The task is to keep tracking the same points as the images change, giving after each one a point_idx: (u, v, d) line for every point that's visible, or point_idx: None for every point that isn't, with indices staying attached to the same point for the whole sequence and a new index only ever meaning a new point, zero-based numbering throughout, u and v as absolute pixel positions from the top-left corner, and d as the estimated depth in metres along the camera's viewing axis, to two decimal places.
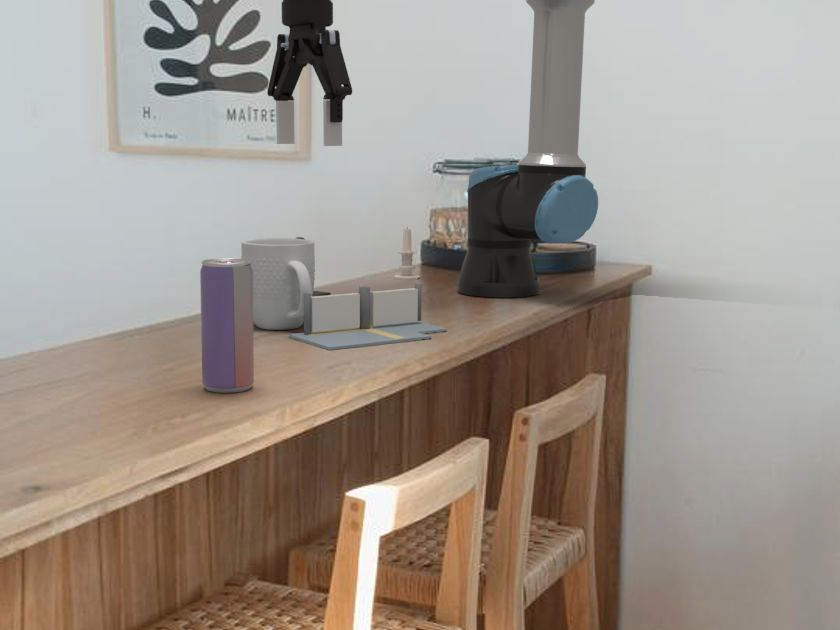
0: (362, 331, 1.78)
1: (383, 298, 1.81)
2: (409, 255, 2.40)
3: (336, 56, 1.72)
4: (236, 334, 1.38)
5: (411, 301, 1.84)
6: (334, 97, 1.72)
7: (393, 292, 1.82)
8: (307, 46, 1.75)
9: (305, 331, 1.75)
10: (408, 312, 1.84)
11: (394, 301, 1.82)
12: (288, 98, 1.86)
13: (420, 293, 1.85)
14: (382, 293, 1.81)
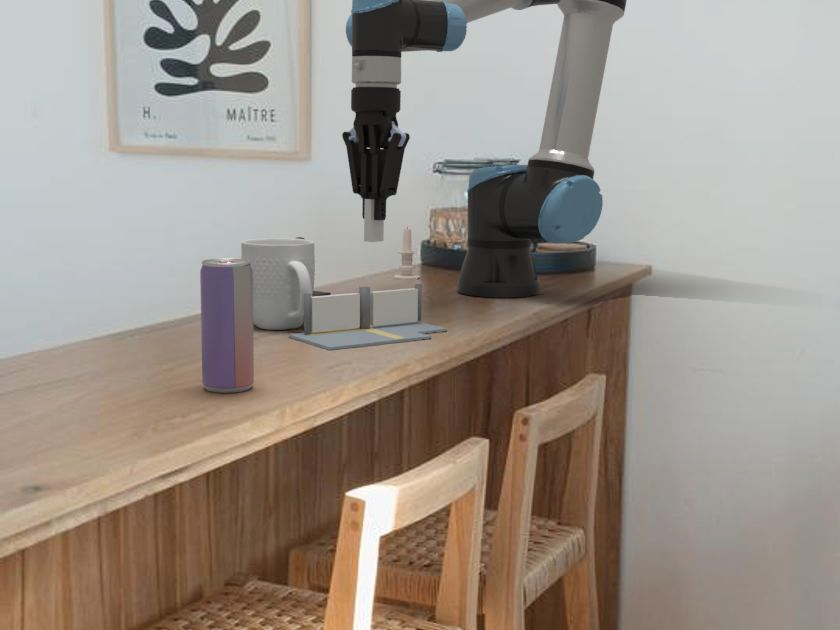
0: (362, 331, 1.78)
1: (383, 298, 1.81)
2: (409, 255, 2.40)
3: (397, 160, 1.82)
4: (236, 334, 1.38)
5: (411, 301, 1.84)
6: (378, 199, 1.84)
7: (393, 292, 1.82)
8: (375, 137, 1.82)
9: (305, 331, 1.75)
10: (408, 312, 1.84)
11: (394, 301, 1.82)
12: None
13: (420, 293, 1.85)
14: (382, 293, 1.81)
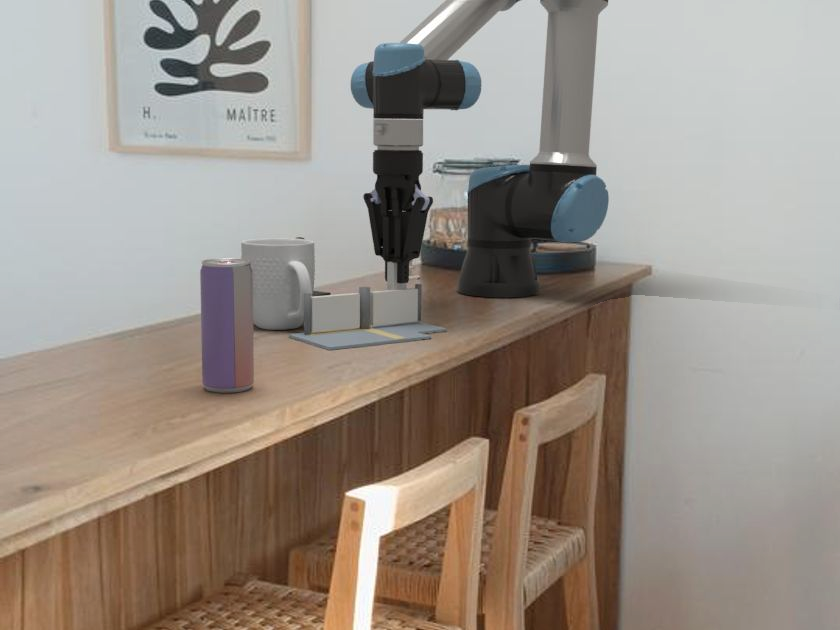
0: (362, 331, 1.78)
1: (383, 298, 1.81)
2: None
3: (420, 223, 1.80)
4: (236, 334, 1.38)
5: (411, 301, 1.84)
6: (401, 262, 1.82)
7: (393, 292, 1.82)
8: (398, 200, 1.80)
9: (305, 331, 1.75)
10: (408, 312, 1.84)
11: (394, 301, 1.82)
12: None
13: (420, 293, 1.85)
14: (382, 293, 1.81)
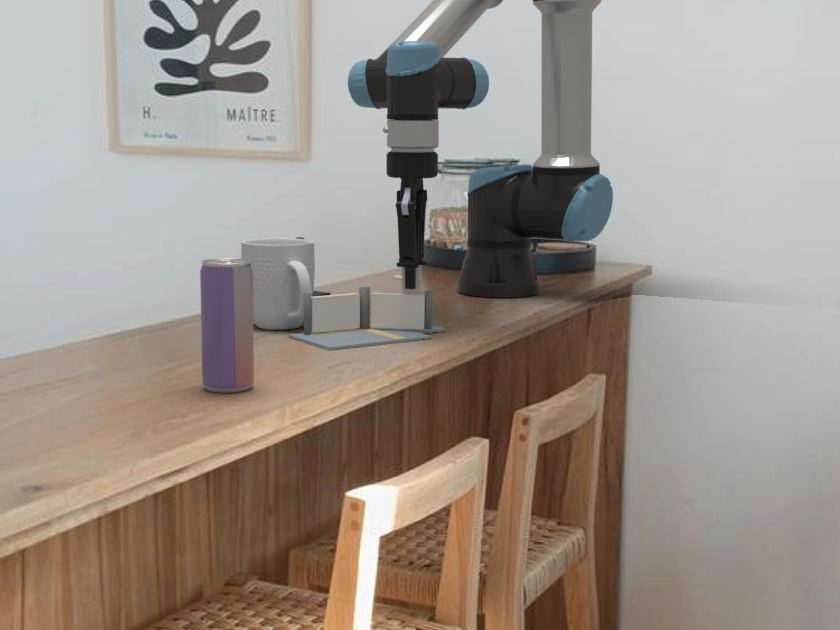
0: (362, 331, 1.78)
1: (383, 300, 1.79)
2: None
3: (406, 228, 1.73)
4: (236, 334, 1.38)
5: (416, 307, 1.78)
6: (405, 267, 1.77)
7: (394, 296, 1.78)
8: None
9: (305, 331, 1.75)
10: (413, 318, 1.78)
11: (396, 305, 1.78)
12: None
13: (428, 300, 1.77)
14: (381, 295, 1.79)
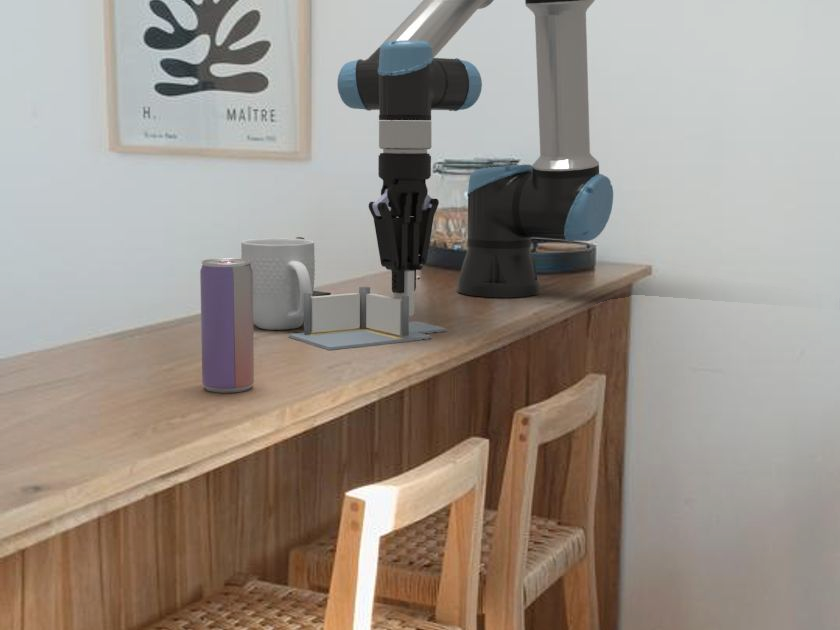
0: (362, 331, 1.78)
1: (373, 301, 1.77)
2: None
3: (381, 230, 1.70)
4: (236, 334, 1.38)
5: (394, 312, 1.73)
6: None
7: (380, 298, 1.76)
8: None
9: (305, 331, 1.75)
10: (392, 322, 1.74)
11: (381, 308, 1.76)
12: (411, 265, 1.75)
13: (403, 305, 1.72)
14: (372, 296, 1.77)
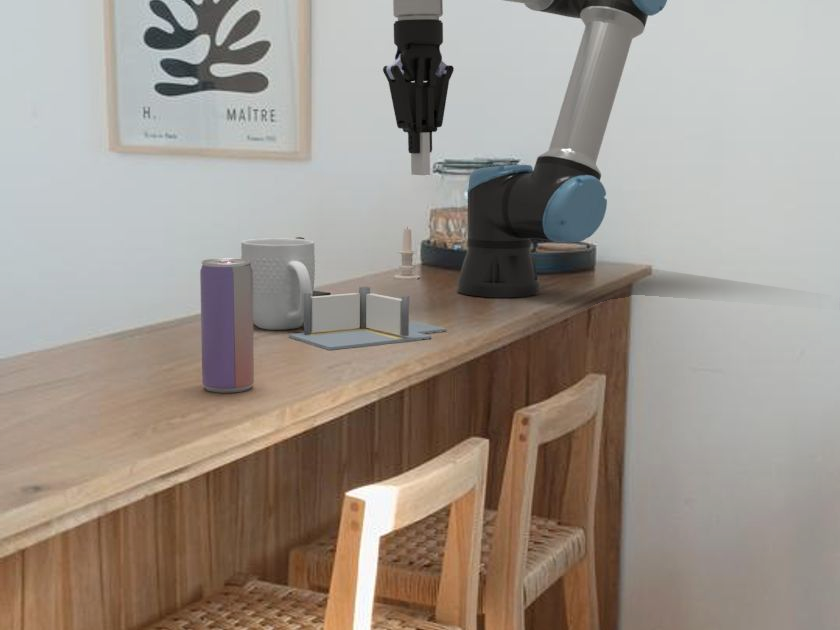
0: (362, 331, 1.78)
1: (373, 301, 1.77)
2: (409, 255, 2.40)
3: (396, 92, 1.83)
4: (236, 334, 1.38)
5: (394, 312, 1.73)
6: None
7: (380, 298, 1.76)
8: None
9: (305, 331, 1.75)
10: (392, 322, 1.74)
11: (381, 308, 1.76)
12: (426, 127, 1.87)
13: (403, 305, 1.72)
14: (372, 296, 1.77)
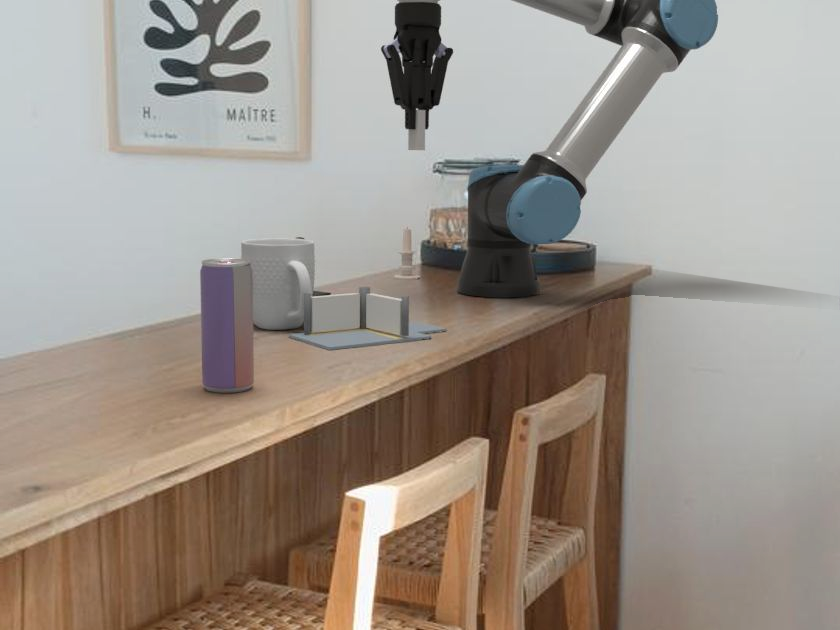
0: (362, 331, 1.78)
1: (373, 301, 1.77)
2: (409, 255, 2.40)
3: (392, 70, 1.94)
4: (236, 334, 1.38)
5: (394, 312, 1.73)
6: None
7: (380, 298, 1.76)
8: None
9: (305, 331, 1.75)
10: (392, 322, 1.74)
11: (381, 308, 1.76)
12: (423, 105, 1.97)
13: (403, 305, 1.72)
14: (372, 296, 1.77)
